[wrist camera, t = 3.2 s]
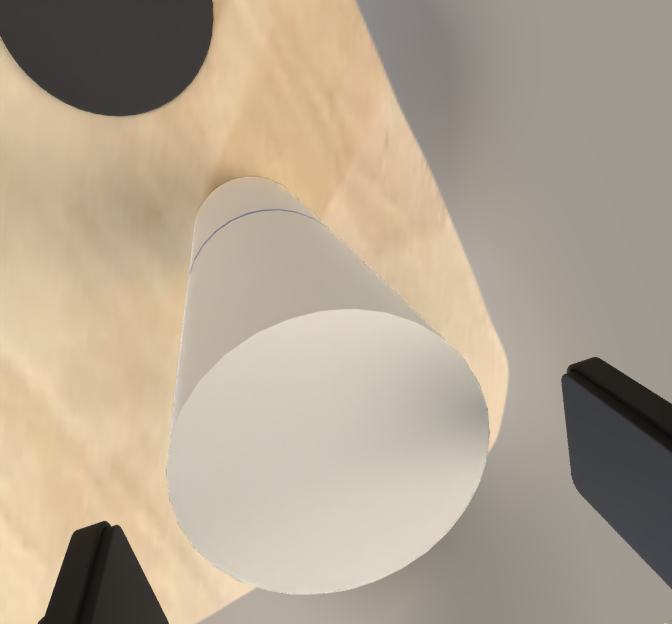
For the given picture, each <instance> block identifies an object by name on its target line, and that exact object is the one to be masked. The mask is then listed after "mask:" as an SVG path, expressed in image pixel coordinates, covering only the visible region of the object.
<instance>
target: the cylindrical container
mask: <svg viewBox="0 0 672 624" xmlns="http://www.w3.org/2000/svg"><path fill="white" fill-rule="evenodd" d="M489 435H490V431H489V420H488V409H487V406H486V403H485V399H484V396H483V393H482V390H481V387H480V384H479V382H478V380H477V379H476V377H475V376H474V374H473V372H472V371H471V369H470V367H469V366H468V364H467V362H466V361H465V359H464V358H463V357H462V356H461V355H460V354H459V353H458V352H457V351H456V350H455V349H454V348H453V347H452V346H451V345H450V344H449V343H448V342H447V341H446V340H445V339H444V338H443V337H441V336H440V335H439V334H438V333H437V332H436V331H435V330H434V329H433V328H432V327H431V326H430V325H429V324H428V323H427V322H426V321H425V320H424V319H423V318H422V317H421V316H420V315H419V314H418V313H417V312H416V311H415V310H414V309H412V308H411V307H410V306H409V305H408V304H407V303H406V302H405V301H404V300H403V299H402V298H401V297H400V296H399V295H398V294H397V293H396V292H395V291H394V290H393V289H392V288H391V287H390V286H389V285H388V284H387V283H386V282H385V281H383V280H382V279H381V278H380V277H379V276H378V275H377V274H376V273H375V272H374V271H373V270H372V269H371V268H370V267H369V266H368V265H367V264H366V263H365V262H364V261H362V260H361V259H360V258H359V257H358V256H357V255H356V254H355V253H354V252H353V251H352V250H351V249H350V248H349V247H348V246H347V245H346V244H345V243H343V242H342V241H341V240H340V239H339V238H338V237H337V236H336V235H335V234H334V233H333V232H332V231H331V230H330V229H329V228H328V227H327V226H326V225H325V224H324V223H323V222H322V221H320V220H319V219H318V218H317V217H316V216H315V215H314V214H313V213H312V212H311V211H310V210H309V209H308V208H307V207H306V206H305V205H304V204H303V203H302V202H301V201H300V200H299V199H298V198H296V197H295V196H294V195H293V194H292V193H291V192H290V191H289V190H288V189H287V188H285V187H283V186H282V185H280V184H279V183H277V182H274V181H272V180H269V179H266V178H260V177H242V178H237V179H233V180H231V181H228V182H226V183H224V184H222V185H221V186H219V187H218V188H216V189H215V190H213V191H212V193H211V194H210V195H209V196H208V197H207V198H206V199H205V200H204V202H203V204H202V205H201V207H200V209H199V211H198V214H197V217H196V220H195V228H194V236H193V244H192V252H191V261H190V270H189V279H188V287H187V295H186V304H185V312H184V320H183V328H182V337H181V345H180V353H179V362H178V371H177V379H176V388H175V397H174V405H173V414H172V423H171V431H170V440H169V449H168V458H167V466H166V478H167V486H168V495H169V500H170V503H171V506H172V509H173V511H174V514H175V517H176V520H177V523H178V525H179V526H180V528H181V529H182V531H183V532H184V534H185V535H186V537H187V538H188V540H189V541H190V543H191V545H192V546H193V547H194V548H195V549H196V550H197V551H198V552H199V553H200V554H201V555H202V556H203V557H204V558H205V559H207V560H208V561H209V562H210V563H211V564H212V565H213V566H214V567H216V568H218V569H219V570H221V571H223V572H224V573H226V574H228V575H229V576H231V577H233V578H234V579H236V580H238V581H241V582H244V583H246V584H249V585H252V586H255V587H258V588H261V589H264V590H268V591H275V592H281V593H288V594H326V593H331V592H338V591H343V590H349V589H353V588H356V587H359V586H362V585H365V584H368V583H372V582H375V581H377V580H379V579H382V578H384V577H386V576H388V575H390V574H392V573H394V572H396V571H398V570H400V569H402V568H404V567H405V566H407V565H408V564H410V563H411V562H412V561H414V560H415V559H417V558H418V557H420V556H421V555H423V554H424V553H426V552H427V551H428V550H429V549H430V548H431V547H432V546H434V545H435V543H437V542H438V541H439V540H440V539H441V538H442V537H443V536H444V535H445V534H446V533H447V532H448V531H449V530H450V529H451V528H452V526H453V525H454V524H455V522H456V521H457V520H458V518H459V517H460V516H461V514H462V513H463V512H464V510H465V509H466V508H467V506H468V504H469V502H470V500H471V498H472V496H473V494H474V493H475V491H476V489H477V486H478V485H479V483H480V479H481V476H482V473H483V470H484V466H485V463H486V460H487V454H488V444H489Z"/></svg>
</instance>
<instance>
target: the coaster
mask: <svg viewBox="0 0 672 624" xmlns="http://www.w3.org/2000/svg"><path fill="white" fill-rule="evenodd" d="M212 24H213V8H212V0H0V36H1V38H2V40H3V42H4V44H5V45H6V47H7V49H8V51H9V52H10V54H11V55H12V56H13V58H14V59H15V61H16V62H17V63H18V65H19V66H20V67H21V68H22V69H23V70H24V71H25V73H26V74H27V75H28V76H29V77H30V78H31V79H32V80H34V81H35V82H36V83H37V84H38V85H39V86H40V87H42V88H43V89H44V90H46V91H47V92H48V93H50V94H51V95H52V96H54V97H56V98H58V99H59V100H61V101H63V102H65V103H67V104H69V105H71V106H74V107H76V108H78V109H81V110H84V111H88V112H91V113H96V114H102V115H108V116H127V115H136V114H140V113H145V112H149V111H151V110H154V109H156V108H159V107H161V106H163V105H164V104H166V103H168V102H170V101H171V100H173V99H174V98H175V97H177V96H178V95H179V94H180V93H182V92H183V91H184V89H185V88H186V87H187V86H188V85H189V84H190V83H191V82H192V80H193V79H194V78H195V76H196V75H197V73H198V72H199V70H200V68H201V66H202V64H203V62H204V60H205V57H206V54H207V51H208V49H209V44H210V40H211V35H212Z"/></svg>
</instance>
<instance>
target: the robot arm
mask: <svg viewBox="0 0 672 624" xmlns="http://www.w3.org/2000/svg"><path fill="white" fill-rule="evenodd" d="M561 380H562V381H561V382H562V392H563V401H564V410H565V419H566V428H567V438H568V447H569V457H570V465H571V475H572V479H573V482H574V484H575V487H576V489H577V490H578V492H579V493H580V494H581V495H582V496H583V497H584V498H585V499H586V500H587V501H588V503H590V505H591V506H592V507H593V508H594V509H595V510H596V511H597V512H598V513H599V514H600V515H601V516H602V517H603V518H604V519H605V520H606V521H607V522H608V523H609V524H610V525H611V526H612V527H613V528H614V530H615V531H617V533H618V534H619V535H620V536H621V537H622V538H623V539H624V540H625V541H626V542H627V543H628V544H629V545H630V546H631V547H632V548H633V549H634V550H635V551H636V552H637V553H638V554H639V556H640V557H641V558H642V559H643V560H644V561H645V562H646V563H647V564H648V565H649V566H650V567H651V568H652V569H653V570H654V571H655V572H656V573H657V574H658V575H659V576H660V577H661V578H662V579H663V580H664V581H665V582H666V584H667V585H668V586H669V587H670V588H671V589H672V404H671V403H669V402H668V401H666V400H664V399H663V398H661V397H660V396H658V395H657V394H655V393H653V392H652V391H650V390H649V389H647V388H646V387H644V386H642V385H641V384H639V383H638V382H636V381H634V380H633V379H631V378H630V377H628V376H626V375H625V374H624V373H622V372H620V371H619V370H617V369H616V368H614V367H613V366H611V365H609V364H608V363H606V362H605V361H603V360H601V359H600V358H597V357H593V358H590V359H587V360H584V361H581V362H578V363H575V364H572V365H570V366H569V367H568V369H567V374H564V375H563V376H562V379H561ZM38 624H169V623H168V620H167V618H166V616H165V614H164V612H163V610H162V608H161V606H160V604H159V602H158V600H157V598H156V596H155V594H154V592H153V590H152V588H151V586H150V584H149V582H148V580H147V578H146V576H145V574H144V572H143V570H142V568H141V566H140V564H139V562H138V560H137V558H136V556H135V554H134V552H133V550H132V548H131V546H130V544H129V542H128V540H127V538H126V536H125V534H124V532H123V530H122V529H121V527H120V526H119V525H115V526H112V527H111V525H110V524H109V523H108V522H107V521H103V522H100V523H97V524H94V525H91V526H88V527H85V528H82V529H79V530H76V531H75V532H74V533H73V535H72V537H71V540H70V543H69V546H68V549H67V551H66V554H65V557H64V560H63V563H62V566H61V569H60V572H59V575H58V578H57V581H56V584H55V587H54V590H53V593H52V596H51V599H50V602H49V605H48V608H47V611H46V614H45V617H43V618H42V619H41V620H40V621H39V622H38ZM664 624H672V621H669V622H666V623H664Z"/></svg>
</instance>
